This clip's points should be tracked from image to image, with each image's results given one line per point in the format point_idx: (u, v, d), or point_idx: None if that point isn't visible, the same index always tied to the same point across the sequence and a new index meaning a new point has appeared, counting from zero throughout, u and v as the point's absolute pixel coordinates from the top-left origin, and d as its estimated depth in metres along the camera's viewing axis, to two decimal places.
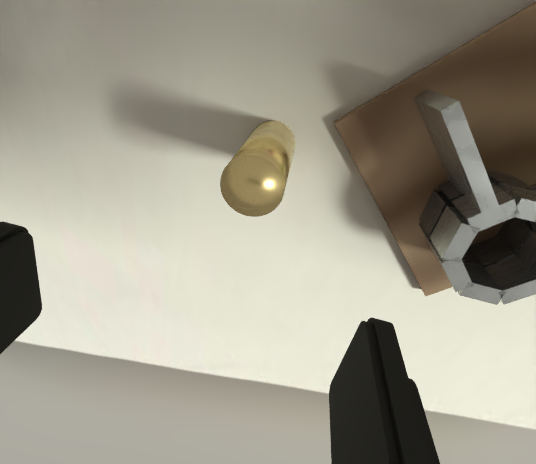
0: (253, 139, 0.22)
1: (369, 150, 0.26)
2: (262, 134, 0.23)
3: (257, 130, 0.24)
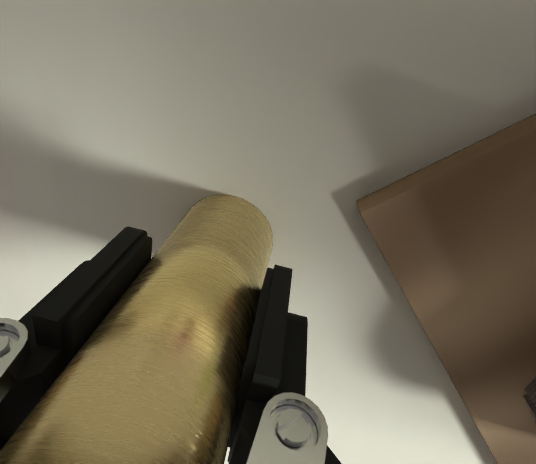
0: (135, 302, 0.07)
1: (436, 266, 0.12)
2: (172, 270, 0.08)
3: (177, 235, 0.10)
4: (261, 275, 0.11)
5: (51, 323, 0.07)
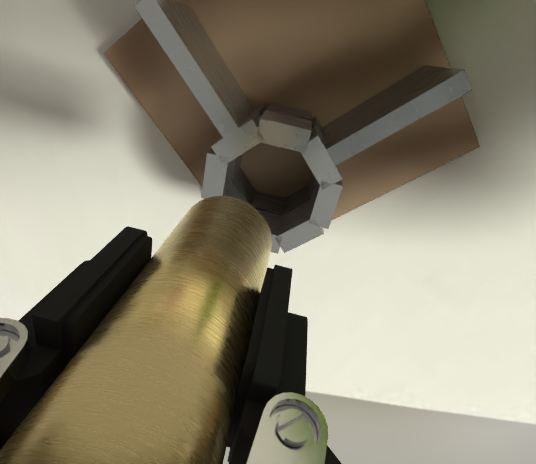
0: (133, 303, 0.07)
1: (149, 84, 0.23)
2: (171, 272, 0.08)
3: (175, 236, 0.10)
4: (260, 276, 0.11)
5: (51, 323, 0.07)
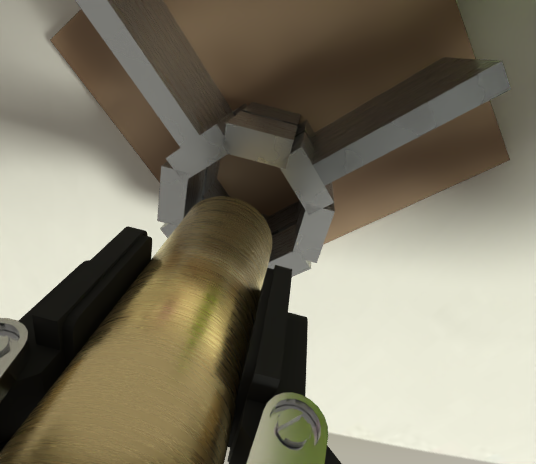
0: (134, 304, 0.07)
1: (106, 78, 0.19)
2: (171, 272, 0.08)
3: (176, 237, 0.10)
4: (261, 277, 0.11)
5: (51, 323, 0.07)
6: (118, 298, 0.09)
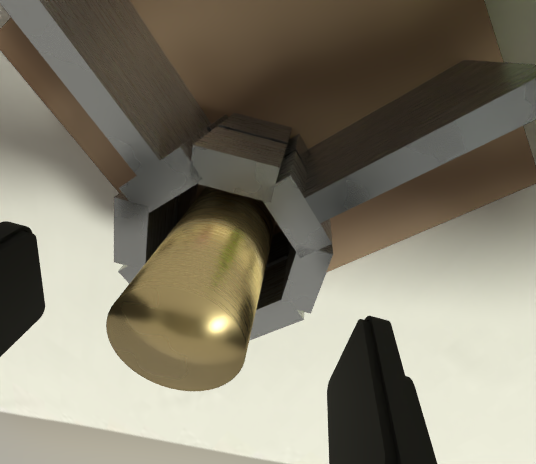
0: (195, 214, 0.11)
1: (61, 85, 0.16)
2: (216, 199, 0.12)
3: None
4: None
5: None
6: None
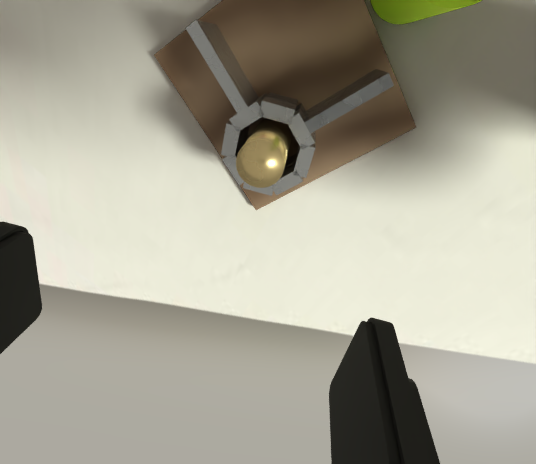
0: (260, 129, 0.28)
1: (185, 77, 0.32)
2: (266, 126, 0.29)
3: (262, 123, 0.31)
4: (289, 138, 0.31)
5: None
6: None
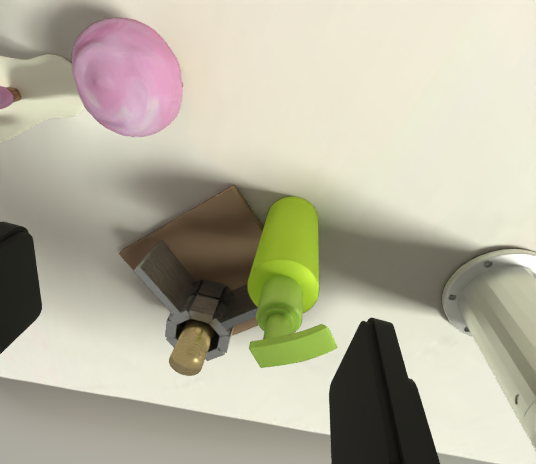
0: (190, 325, 0.39)
1: None
2: None
3: None
4: None
5: None
6: None
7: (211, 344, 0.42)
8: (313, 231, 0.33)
